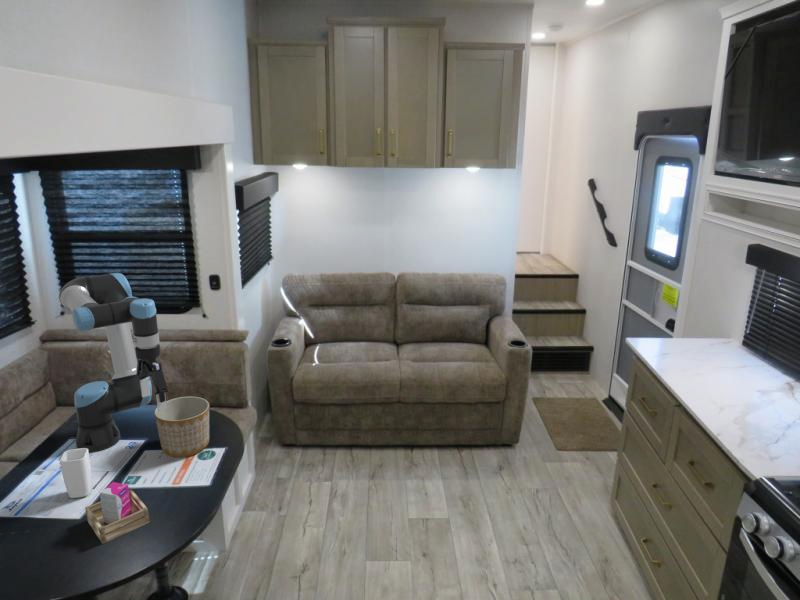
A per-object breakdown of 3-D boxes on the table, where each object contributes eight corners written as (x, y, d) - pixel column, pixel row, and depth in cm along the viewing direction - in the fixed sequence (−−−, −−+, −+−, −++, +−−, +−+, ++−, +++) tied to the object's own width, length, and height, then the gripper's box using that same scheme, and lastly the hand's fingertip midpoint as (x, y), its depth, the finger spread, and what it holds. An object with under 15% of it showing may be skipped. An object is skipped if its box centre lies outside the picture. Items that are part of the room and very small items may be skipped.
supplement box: (120, 527, 166) (115, 495, 163) (103, 524, 168) (98, 492, 164) (133, 515, 172) (128, 484, 168) (116, 512, 173) (111, 481, 170)
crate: (87, 521, 170) (85, 507, 168) (132, 501, 179) (131, 488, 178) (102, 544, 161) (100, 529, 159) (149, 522, 170) (147, 508, 168)
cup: (95, 485, 187) (89, 447, 182) (90, 498, 180) (83, 459, 176) (71, 488, 185) (64, 450, 180) (65, 502, 178) (58, 462, 174)
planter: (190, 465, 199) (186, 424, 195) (147, 454, 205) (142, 415, 200) (222, 438, 217) (219, 401, 212) (182, 429, 223) (178, 392, 218)
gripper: (121, 337, 188) (129, 393, 194) (151, 359, 171) (158, 419, 177) (144, 332, 193) (150, 387, 199) (174, 353, 176) (180, 411, 183)
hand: (154, 402), depth 188 cm, fingers open, 13 cm apart
